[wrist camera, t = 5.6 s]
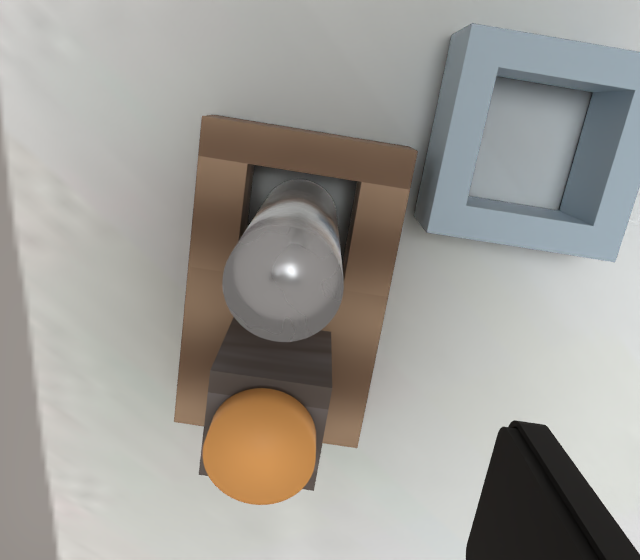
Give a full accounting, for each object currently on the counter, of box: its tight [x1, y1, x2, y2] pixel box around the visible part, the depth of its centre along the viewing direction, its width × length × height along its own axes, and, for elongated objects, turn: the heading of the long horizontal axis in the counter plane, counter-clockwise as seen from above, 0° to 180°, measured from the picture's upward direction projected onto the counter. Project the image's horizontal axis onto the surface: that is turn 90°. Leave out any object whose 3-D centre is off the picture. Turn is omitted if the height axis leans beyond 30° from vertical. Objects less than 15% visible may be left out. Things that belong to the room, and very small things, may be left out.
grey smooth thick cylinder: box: [222, 179, 344, 342], centre depth 24 cm, size 4×4×12 cm
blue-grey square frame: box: [414, 23, 640, 262], centre depth 27 cm, size 9×9×4 cm
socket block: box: [174, 115, 418, 491], centre depth 27 cm, size 16×10×9 cm, turn 171°
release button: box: [203, 388, 316, 505], centre depth 26 cm, size 4×4×8 cm
